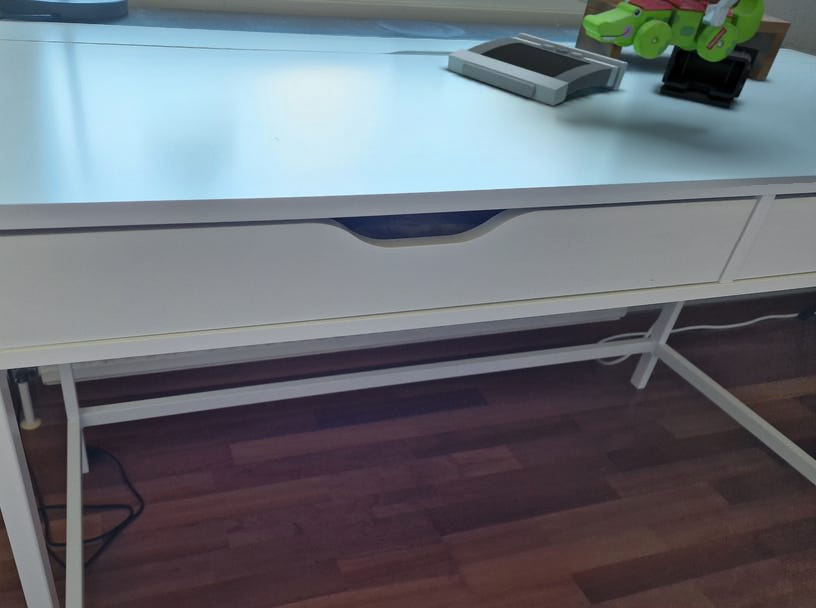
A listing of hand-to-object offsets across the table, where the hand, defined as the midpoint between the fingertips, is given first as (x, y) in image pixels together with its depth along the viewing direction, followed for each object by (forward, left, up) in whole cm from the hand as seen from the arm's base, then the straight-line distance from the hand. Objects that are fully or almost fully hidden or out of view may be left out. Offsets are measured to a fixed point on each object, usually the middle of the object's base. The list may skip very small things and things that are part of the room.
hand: (670, 15), depth 72 cm
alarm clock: (+17, -2, -12) cm, 21 cm away
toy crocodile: (0, -1, -4) cm, 4 cm away
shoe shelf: (+15, -32, -11) cm, 37 cm away
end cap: (+3, -20, -12) cm, 23 cm away
